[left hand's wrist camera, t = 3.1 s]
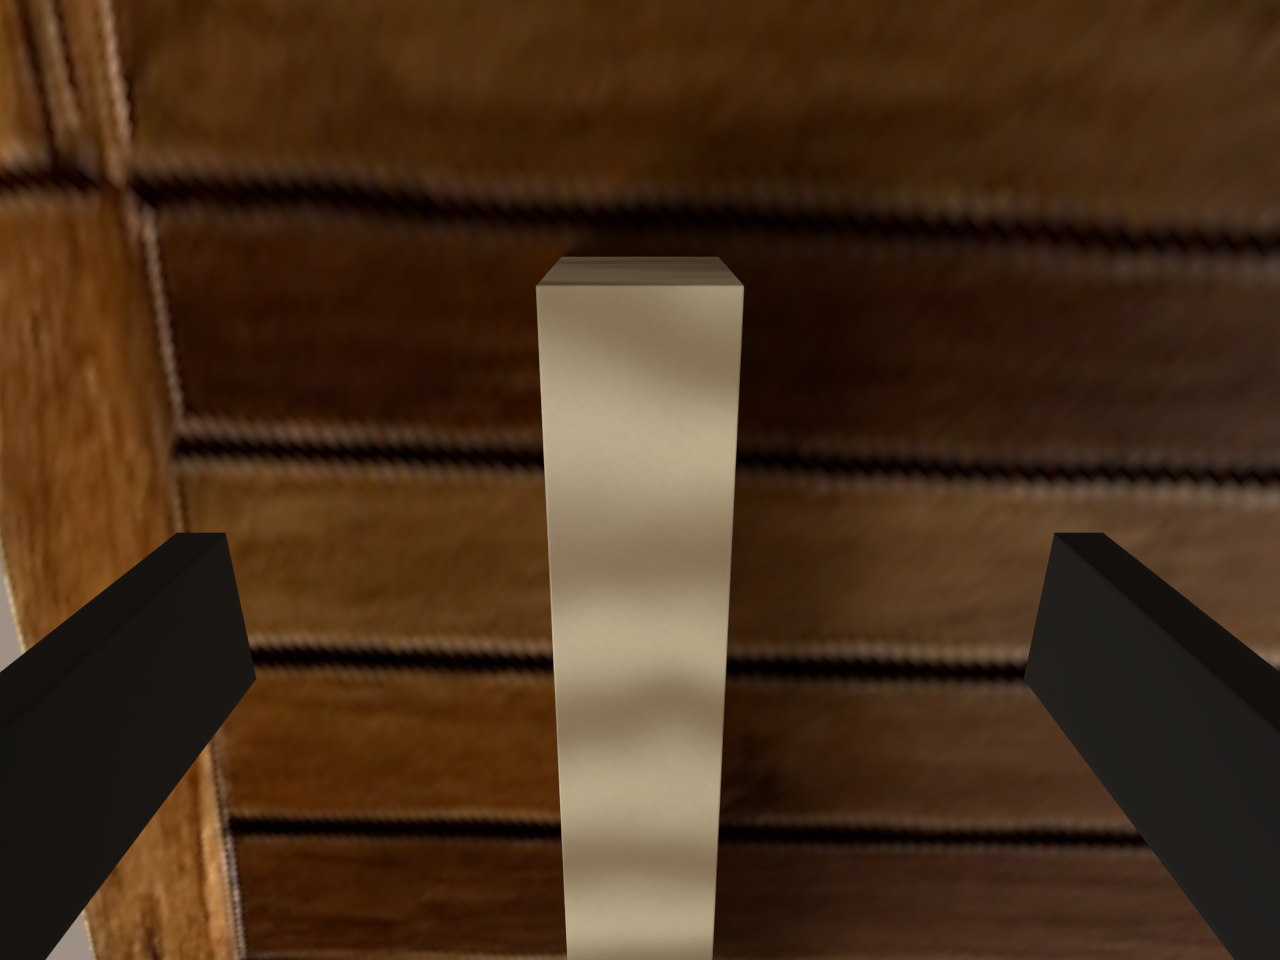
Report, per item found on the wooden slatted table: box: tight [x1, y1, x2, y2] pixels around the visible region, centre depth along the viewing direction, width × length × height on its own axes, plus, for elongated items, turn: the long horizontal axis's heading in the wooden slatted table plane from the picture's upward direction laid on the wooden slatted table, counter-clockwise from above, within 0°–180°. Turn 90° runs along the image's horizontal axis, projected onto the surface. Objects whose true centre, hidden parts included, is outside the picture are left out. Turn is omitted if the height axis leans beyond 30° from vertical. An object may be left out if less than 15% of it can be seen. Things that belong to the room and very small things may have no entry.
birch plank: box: [536, 257, 744, 960], centre depth 29 cm, size 36×5×6 cm, turn 0°
